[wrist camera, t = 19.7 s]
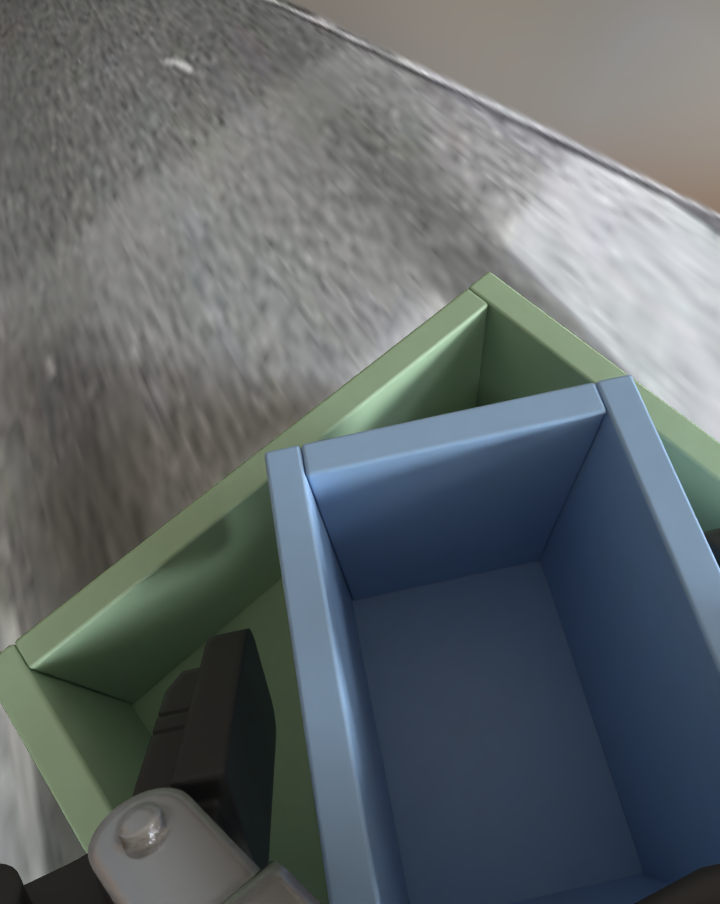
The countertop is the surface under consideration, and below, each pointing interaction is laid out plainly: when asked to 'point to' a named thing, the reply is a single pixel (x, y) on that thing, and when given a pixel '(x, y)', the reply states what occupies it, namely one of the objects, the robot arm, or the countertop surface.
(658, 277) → the countertop surface
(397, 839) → the small bin
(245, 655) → the robot arm
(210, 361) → the countertop surface
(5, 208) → the countertop surface
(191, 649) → the green tote
